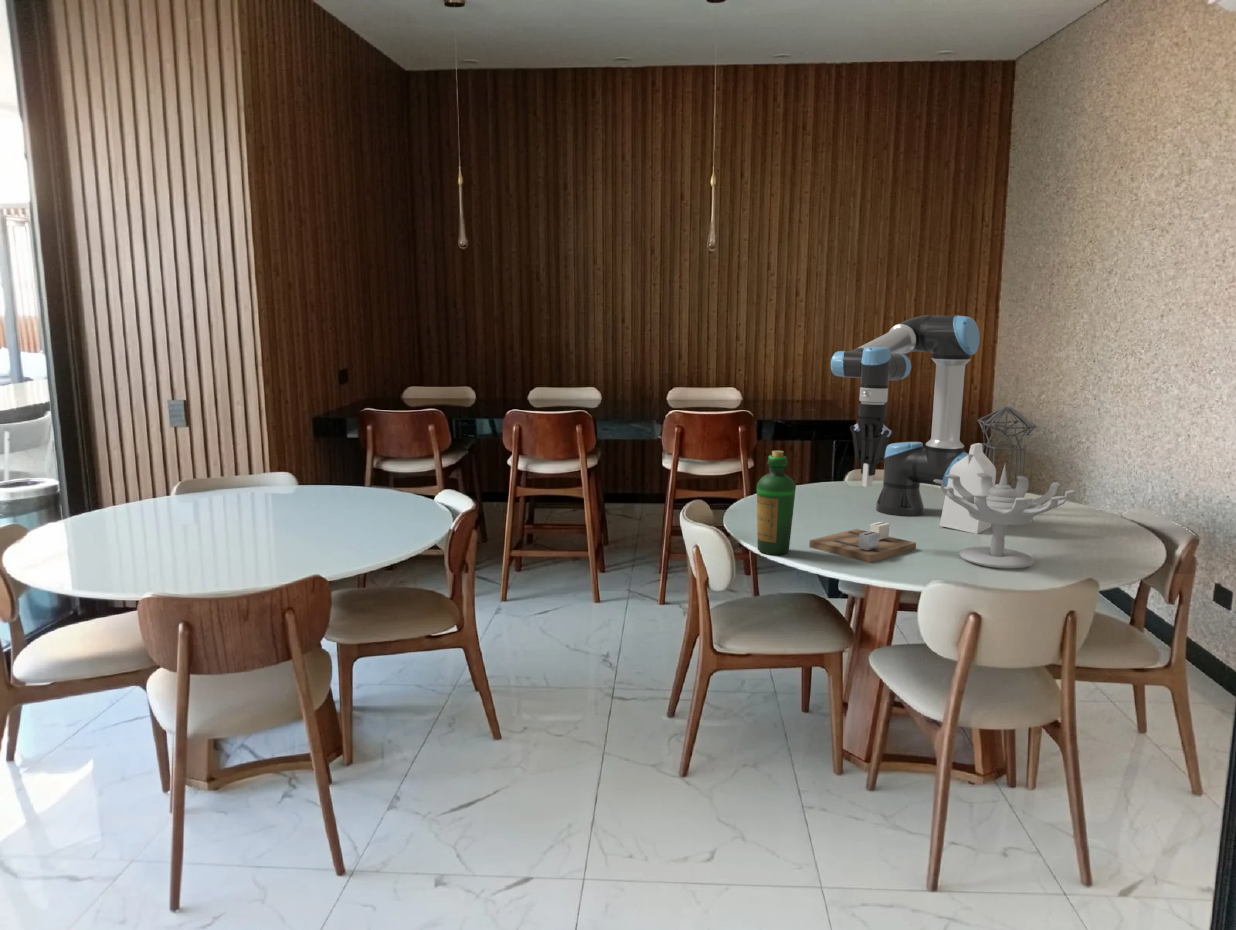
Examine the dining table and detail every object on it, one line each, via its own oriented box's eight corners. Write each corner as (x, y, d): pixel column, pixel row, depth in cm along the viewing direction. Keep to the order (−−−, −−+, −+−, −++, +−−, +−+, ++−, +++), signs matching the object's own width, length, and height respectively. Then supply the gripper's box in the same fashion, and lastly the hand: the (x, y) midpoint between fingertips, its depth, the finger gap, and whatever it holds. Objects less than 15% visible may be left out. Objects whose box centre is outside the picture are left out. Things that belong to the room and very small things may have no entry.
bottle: (751, 546, 257) (755, 448, 252) (789, 546, 257) (794, 448, 252) (756, 556, 247) (760, 454, 242) (795, 557, 246) (800, 455, 241)
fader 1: (858, 548, 247) (859, 533, 247) (869, 545, 251) (870, 530, 250) (867, 550, 245) (868, 535, 244) (878, 547, 248) (879, 532, 248)
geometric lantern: (968, 503, 318) (976, 403, 312) (1014, 505, 317) (1024, 405, 311) (981, 513, 303) (990, 408, 297) (1030, 515, 301) (1040, 410, 295)
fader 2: (869, 537, 259) (870, 523, 258) (879, 535, 262) (880, 521, 261) (878, 540, 256) (879, 525, 256) (888, 537, 260) (889, 523, 259)
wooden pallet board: (809, 546, 257) (809, 539, 257) (855, 535, 271) (856, 528, 271) (869, 562, 242) (870, 555, 242) (915, 549, 256) (916, 542, 256)
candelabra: (913, 565, 241) (921, 463, 236) (947, 538, 269) (955, 447, 265) (1054, 588, 222) (1066, 479, 217) (1075, 557, 251) (1085, 459, 246)
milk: (954, 519, 292) (964, 439, 286) (990, 527, 284) (1002, 445, 279) (939, 525, 283) (950, 443, 277) (976, 533, 275) (989, 449, 270)
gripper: (845, 401, 256) (839, 483, 260) (884, 405, 246) (878, 491, 250) (861, 400, 261) (856, 481, 265) (901, 404, 251) (894, 488, 255)
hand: (867, 486), depth 258 cm, fingers closed
